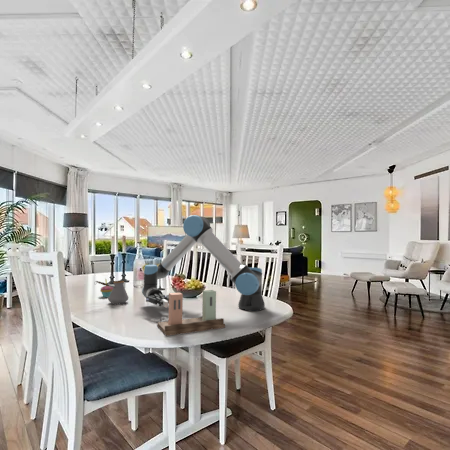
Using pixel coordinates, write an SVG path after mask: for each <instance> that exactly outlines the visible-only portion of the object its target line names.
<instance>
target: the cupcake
mask: <svg viewBox="0 0 450 450" xmlns="http://www.w3.org/2000/svg"><path fill="white" fill-rule="evenodd" d="M104 279H105V283H106V284H108V282H107V281H108V280H107V278H104ZM112 289H113V288H112V287H110V286H106V285H103V286H102V287H101V288H100V293H101V294H102V297H103V298H109V296H110V294H111V292H112Z"/></svg>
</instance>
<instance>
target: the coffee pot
mask: <svg viewBox="0 0 450 450" xmlns="http://www.w3.org/2000/svg"><path fill="white" fill-rule="evenodd" d="M97 284H100V285H102V286H110V287H112V288H113V289H112V292H111V294H110V296H109V297H107V298H108V302H109V303H111V304H112V305H123V304H125V303H126V302H127V301H128V300H129V295H128V293H127V290H126V288H125V286H124V284H125V281H124V280H115V281H113V284H114V285H111V284H108V283H107V284H106V282H101V281H98V280H95V282H94V285H97Z"/></svg>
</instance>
